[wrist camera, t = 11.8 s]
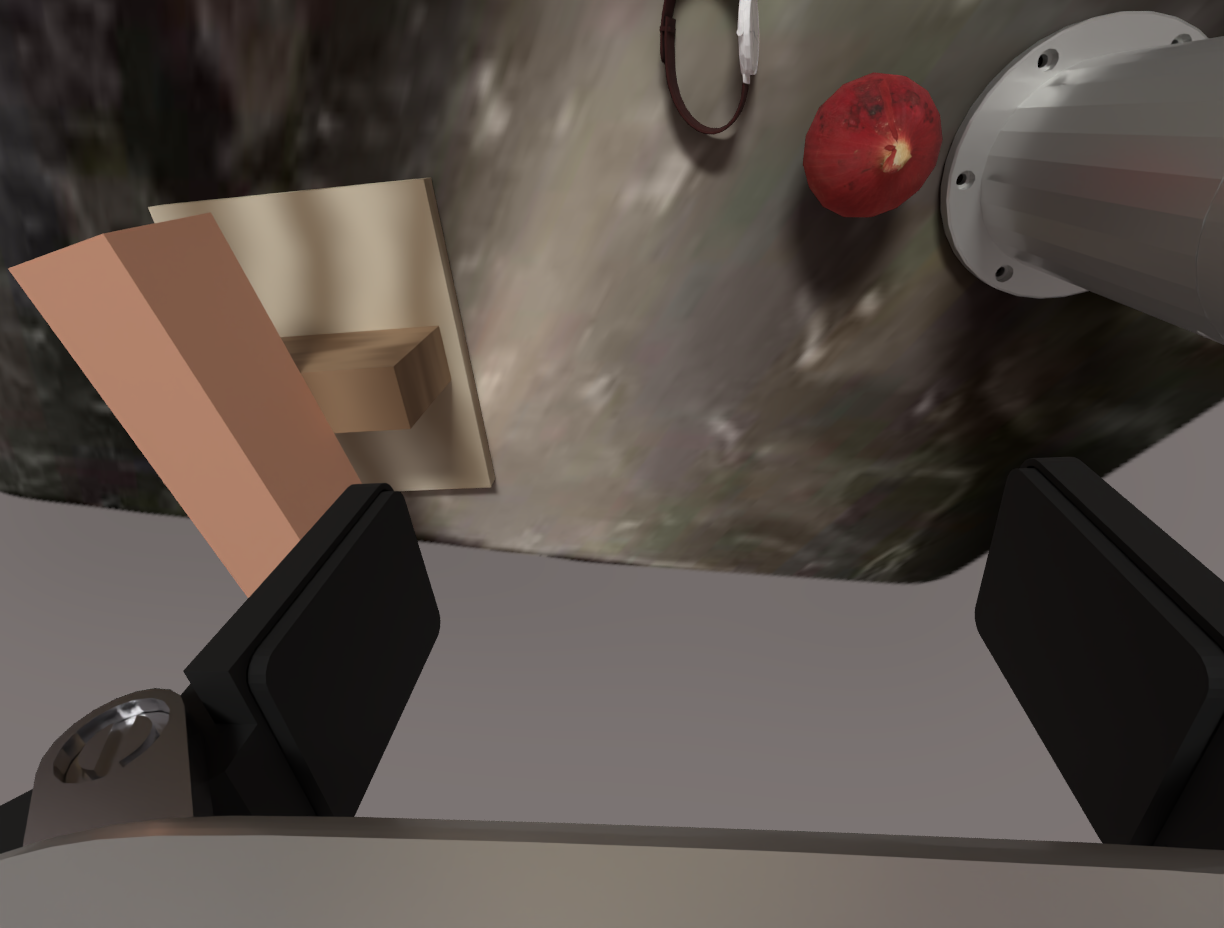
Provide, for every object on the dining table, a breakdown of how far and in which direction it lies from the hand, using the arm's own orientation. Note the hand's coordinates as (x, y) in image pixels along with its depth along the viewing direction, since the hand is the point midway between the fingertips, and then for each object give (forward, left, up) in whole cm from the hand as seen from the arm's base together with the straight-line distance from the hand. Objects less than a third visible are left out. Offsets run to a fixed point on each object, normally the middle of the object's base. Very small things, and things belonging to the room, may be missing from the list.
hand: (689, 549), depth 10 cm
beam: (+21, +5, -20) cm, 29 cm away
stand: (+21, +5, -28) cm, 35 cm away
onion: (-9, -4, -28) cm, 30 cm away
